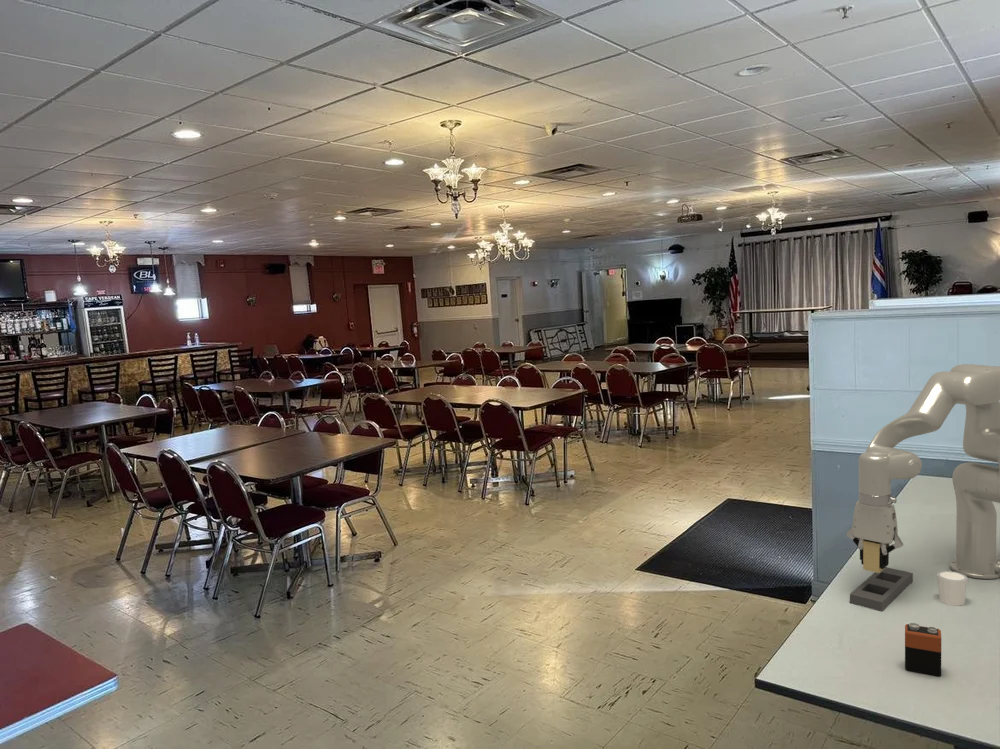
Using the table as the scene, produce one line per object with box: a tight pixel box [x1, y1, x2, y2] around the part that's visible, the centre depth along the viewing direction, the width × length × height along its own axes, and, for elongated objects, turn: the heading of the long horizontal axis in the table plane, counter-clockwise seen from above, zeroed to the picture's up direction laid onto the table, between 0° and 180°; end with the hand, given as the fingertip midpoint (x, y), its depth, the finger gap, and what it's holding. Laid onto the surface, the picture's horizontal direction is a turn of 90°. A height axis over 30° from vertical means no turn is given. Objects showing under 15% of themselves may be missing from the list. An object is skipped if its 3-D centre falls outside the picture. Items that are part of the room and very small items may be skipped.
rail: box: [849, 566, 914, 612], centre depth 192 cm, size 8×24×2 cm, turn 133°
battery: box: [904, 622, 942, 677], centre depth 154 cm, size 4×7×10 cm, turn 60°
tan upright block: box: [862, 540, 885, 573], centre depth 187 cm, size 4×4×8 cm
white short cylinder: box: [936, 570, 969, 607], centre depth 184 cm, size 7×7×7 cm
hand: (874, 564), depth 188 cm, fingers closed on tan upright block, 4 cm apart
